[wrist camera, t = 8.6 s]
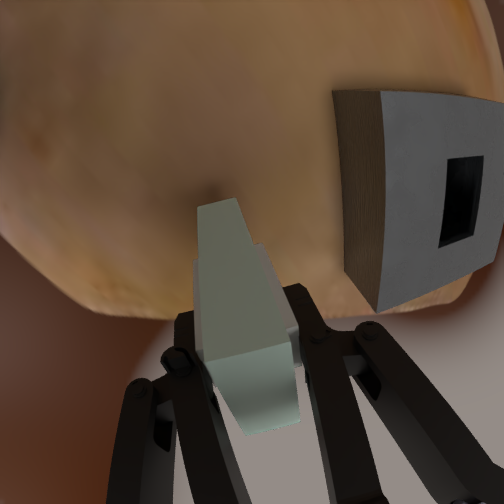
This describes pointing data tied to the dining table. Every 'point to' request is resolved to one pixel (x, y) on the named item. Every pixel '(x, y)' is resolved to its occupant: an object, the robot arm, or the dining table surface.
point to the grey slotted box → (418, 189)
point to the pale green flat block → (243, 324)
